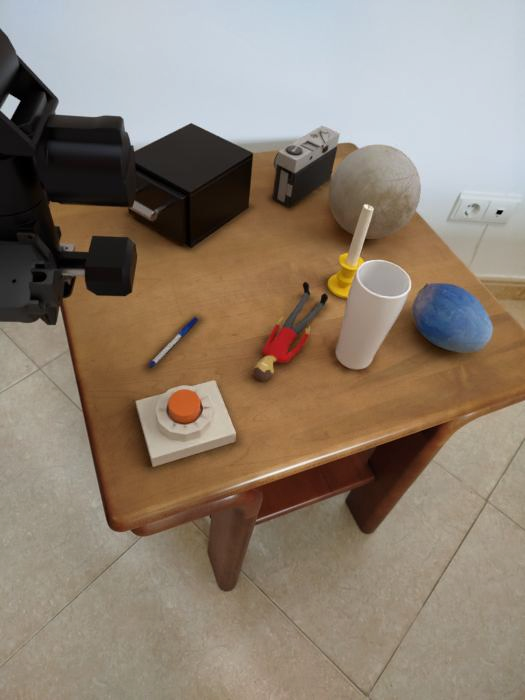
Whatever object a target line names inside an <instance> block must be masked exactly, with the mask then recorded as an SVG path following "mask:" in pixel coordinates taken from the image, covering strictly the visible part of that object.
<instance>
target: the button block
mask: <svg viewBox="0 0 525 700" xmlns="http://www.w3.org/2000/svg"><path fill="white" fill-rule="evenodd" d="M183 389H187V390H191V391H193V392H195V393H196V394H197V395H198V396H199V398H200V414H199V416H198V417H197V419H195V420H194V421H193V422H190V423H186V424H182V423H178V422H176V421H174V420H173V419H172V418H171V416H170V414H169V407H168V401H169V398H170V396H171V395H172V394H173V393H174V392H176V391H178V390H183ZM135 407H136V411H137V414H138V415H137V416H138V418H139V422H140V425H141V429H142V433H143V437H144V440H145V444H146V448H147V451H148V454H149V458H150V462H151V467H153V468H155V467H158V466H160V465H164V464H167V463H171V462H175V461H177V460H180V459H184V458H188V457H190V456H194V455H197V454H200V453H204V452H206V451H210V450H213V449H217V448H219V447H224V446H227V445H230V444H234V443H235V442H236V436H237V432H236V429H235V427H234V424H233V421H232V420H231V417H230V415H229V412H228V409H227V407H226V404H225V402H224V399H223V396H222V394H221V392H220V389H219V387H218V384H217V381H216V380H215V379H213V380H209V381H206V382H202V383H198V384H195V385H188V384H182V385H179V386H175V387H171V388H168V390H166V391H165V392H163V393H161V394H155V395H152V396H148V397H144V398H141V399H138V400H135Z"/></svg>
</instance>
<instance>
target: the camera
mask: <svg viewBox="0 0 525 700" xmlns="http://www.w3.org/2000/svg"><path fill="white" fill-rule="evenodd" d="M340 135H341V133H340V132H338V131H336V130H333V129H331V128H329V127H327V126H325V125H320V126H319V127H317V128H315V129H314V130H312V131H310V132H308V133H306V134H305V135H303V136H302V137H300V138H298V139H297V140H295V141H293V142H292V143H290V144H288V145H287V146H285V147H283V148H281V149H279V150H278V152H277V153H276V155H275V156H274V160H273V167H274V168H275V169H274V170H275V176H274V185H273V191H272V200H273V201H275V202H276V203H278V204H279V205H282V206H284V207H286V208H287V209H288V208H290V207H293V206H294V205H295V204H297V203H298V202H300V201H301V200H303V199H304V198H305V197H306V196H308V195H309V194H311V193H313V191H315V190H317V189H318V188H319V187H321V186H322V185H324V184H325V183H327V182H328V181H329V180H331V179H332V175H333V174H332V173H333V169H334V165H335V160H336V155H337V152H338V144H339V139H340Z"/></svg>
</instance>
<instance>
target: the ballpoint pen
mask: <svg viewBox="0 0 525 700" xmlns="http://www.w3.org/2000/svg"><path fill="white" fill-rule="evenodd" d="M198 320H199V319H198V317H197V316H195V317H193V318H192V319H190V321H189V322H188V323H186V325H185V326H184V327H183V328H181V330H180V331H179V332H178V333H177V334H176V336H175V337H174V338H173V339H172V340H171V341H170V342H169V343H168V344H167V345H165V347H164V348H163V349H162V350H161V351H160V352H159V353H157V355H156V356H155V357H154V358H153V359H152V360H151V362H150V363H149V365H148V367H149V368H153V366H155V365H156V364H157V363H158V362H159V361H160V360H161V359H162V358H163V357H164V356H165V355H166V354H167V353H168V352H169V351H170V350H171V349H172V348H173V347H174V346H175V345H176V343H177V342H179V340H180V339H181V338H183V337H184V336H185V335H186V334H187V333H188V332H189V331H190V330H191V329H192V327H194V326H195V324H196V323H197V322H198Z"/></svg>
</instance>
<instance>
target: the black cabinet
mask: <svg viewBox="0 0 525 700" xmlns="http://www.w3.org/2000/svg"><path fill="white" fill-rule="evenodd" d="M134 154H135V168H137V169H138V168H139V169H141V170H143V171H144V172H146V173H148V174H150V175H152V176H154V177H155V178H157V179H159V180H161V181H163V182H165V183H166V184H168V185H170V186H172V187H174V188H176V189H177V190H179V191H181V192H183V193H185V194H186V196H187V226H188V243H186V244H185V245H184V246H187V247H188V248H190V249H192V248H194V247H196V246H197V245H199V243H201V242H202V241H204V240H205V239H207V238H208V237H209V236H210V235H211V236H212V234H213V233H215V232H217V230H219V229H221V228H223V226H225V225H227V223H229V222H230V221H232V220H233V219H234V218H236V217H237V216H240V214H241V213H243V212H244V211H246V210H248V209H249V208H250V198H251V197H250V196H251V185H252V173H253V163H254V162H253V161H254V152H252V151H250V150H248V149H246V148H244V147H242V146H240V145H238V144H235V143H234V142H232V141H229V140H228V139H225V138H223V137H222V136H219V135H217V134H215V133H213V132H211V131H210V130H206V129H204V128H203V127H201V126H198V125H197V124H194V123H192V122H190V123H189V124H186V125H184V126H182V127H180V128H178V129H176V130H174V131H172V132H170V133H168V134H166V135H164V136H162V137H160V138H158V139H156V140H154V141H152V142H150V143H148V144H146V145H144V146H141V147H140V148H138V149H136V150H134Z"/></svg>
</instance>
